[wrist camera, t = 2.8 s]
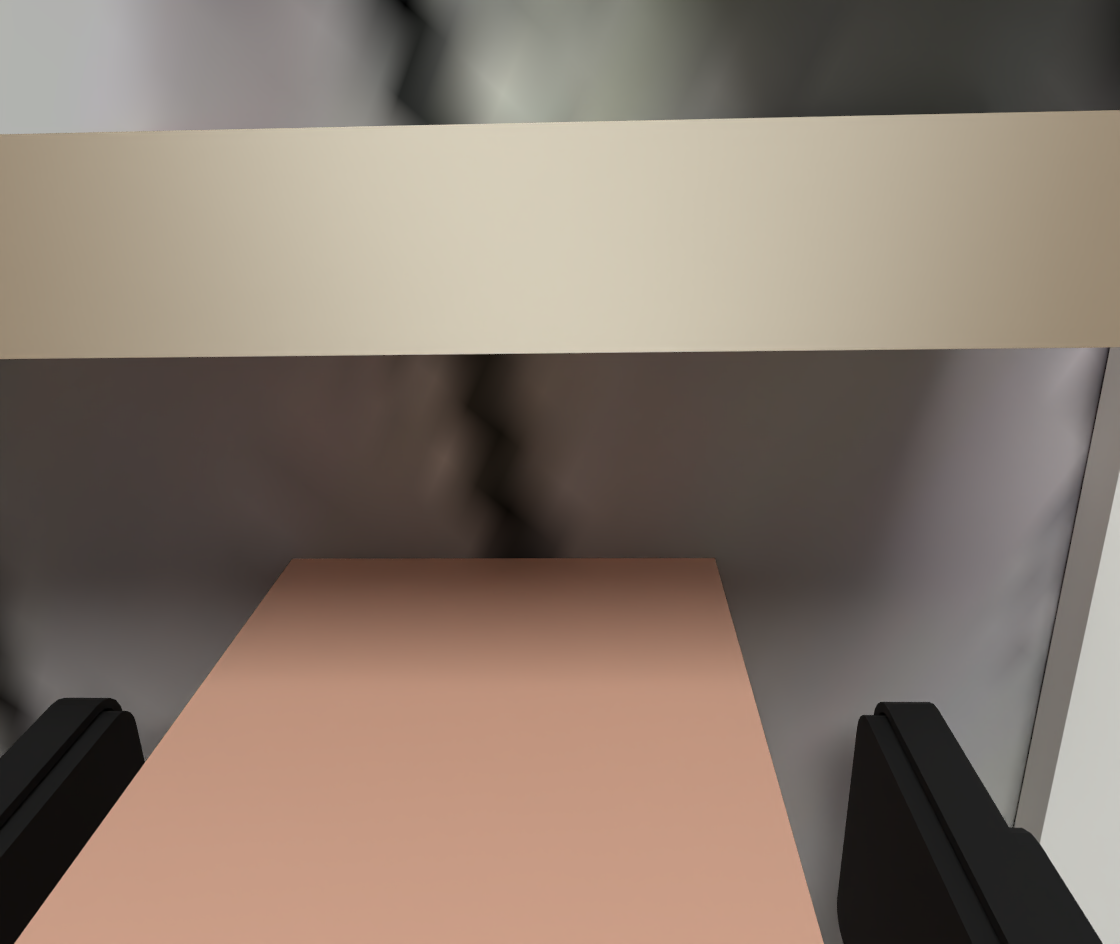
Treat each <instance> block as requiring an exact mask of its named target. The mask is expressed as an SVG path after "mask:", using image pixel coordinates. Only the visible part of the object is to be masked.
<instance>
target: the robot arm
mask: <svg viewBox="0 0 1120 944" xmlns="http://www.w3.org/2000/svg"><path fill="white" fill-rule="evenodd" d="M144 763H145V761H144V757H143V752H142V748H141V743H140V739H139V734H138V730H137V725H136V722H135V719H134V716H133V715H132V714H131V713H130V712H128V711H122V709H121V706H120V705H119V703H118V702H117V701H116V700H114V699H111V698H63V699H59V700H57V701H56V702H55V703H53V704H52V705H51V706H50V707H49V708H48V709H47V710H46V711H45V712H44V713H43V714H42V715H41V716H40V717H39V718H38V719H37V721H36V722H35V723H34V724H33V725H32V726H31V727H30V728H29V729H28V730H27V731H26V732H25V733H24V734H23V735H22V736H21V737H20V738H19V739H18V740H17V741H16V742H15V743H14V744H13V746H12V747H11V748H10V749H9V750H8V751H7V752H6V753H5V754H4V755H3V756H2V757H1V758H0V944H14V943H15V942H16V940H17V939H18V938H19V936H20V935H21V934H22V932H23V931H24V929H25V928H26V927H27V925H28V924H29V922H30V921H31V920H32V918H33V917H34V916H35V914H36V913H37V911H38V910H39V909H40V907H41V906H42V904H43V903H44V902H45V900H46V899H47V898H48V896H49V895H50V893H51V892H52V891H53V889H54V888H55V886H56V885H57V884H58V882H59V881H60V880H61V878H62V877H63V875H64V874H65V873H66V871H67V870H68V868H69V867H70V866H71V864H72V863H73V862H74V860H75V859H76V857H77V856H78V855H79V853H80V852H81V850H82V849H83V848H84V846H85V845H86V844H87V842H88V841H89V839H90V838H91V837H92V835H93V834H94V832H95V831H96V830H97V828H98V827H99V826H100V824H101V823H102V821H103V820H104V819H105V817H106V816H107V814H108V813H109V812H110V810H111V809H112V808H113V806H114V805H115V803H116V802H117V801H118V799H119V798H120V796H121V795H122V794H123V792H124V791H125V790H126V788H127V787H128V785H129V784H130V783H131V781H132V780H133V778H134V777H135V776H136V774H137V773H138V772H139V770H140V769H141V767H142V766H143V765H144ZM837 912H838V922H839V927H840V932H841V936H842V939H843V943H844V944H1103V943H1102V941H1101V940H1100V938H1099V936H1098V935H1097V933H1096V932H1095V930H1094V929H1093V927H1092V925H1091V924H1090V922H1089V921H1088V919H1087V917H1086V916H1085V914H1084V913H1083V911H1082V910H1081V908H1080V906H1079V905H1078V903H1077V902H1076V900H1075V898H1074V897H1073V895H1072V894H1071V892H1070V891H1069V889H1068V887H1067V886H1066V884H1065V883H1064V881H1063V879H1062V878H1061V876H1060V875H1059V873H1058V872H1057V870H1056V868H1055V867H1054V865H1053V864H1052V862H1051V860H1050V859H1049V857H1048V856H1047V854H1046V852H1045V851H1044V849H1043V848H1042V846H1041V845H1040V843H1039V842H1038V841H1037V840H1036V838H1035V837H1034V836H1033V835H1032V833H1030V832H1028V831H1027V830H1025V829H1023V828H1009V827H1008V825H1007V823H1006V822H1005V820H1004V818H1003V817H1002V815H1001V813H1000V812H999V810H998V808H997V807H996V805H995V803H994V802H993V800H992V798H991V797H990V795H989V793H988V792H987V790H986V788H985V787H984V785H983V783H982V782H981V780H980V778H979V777H978V775H977V773H976V772H975V770H974V768H973V767H972V765H971V763H970V762H969V760H968V758H967V757H966V755H965V753H964V752H963V750H962V748H961V747H960V745H959V743H958V742H957V740H956V738H955V737H954V735H953V733H952V732H951V730H950V728H949V727H948V725H947V723H946V722H945V720H944V719H943V717H942V715H941V714H940V712H939V710H938V709H937V708H936V706H935V705H934V704H932V703H930V702H880V703H878V704H877V706H876V708H875V711H874V715H862V716H861V717H860V719H859V721H858V726H857V734H856V742H855V751H854V759H853V768H852V777H851V785H850V794H849V802H848V811H847V819H846V828H845V837H844V845H843V854H842V862H841V871H840V880H839V888H838V897H837Z"/></svg>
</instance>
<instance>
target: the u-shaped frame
mask: <svg viewBox="0 0 1120 944" xmlns="http://www.w3.org/2000/svg"><path fill="white" fill-rule="evenodd" d="M1092 347H1120V110H1103V111H1057V112H1011V113H965V114H919V115H873V116H827V117H782V118H736V119H690V120H644V121H598V122H552V123H506V124H460V125H414V126H368V127H322V128H276V129H230V130H184V131H139V132H93V133H47V134H1V135H0V359H54V358H148V357H243V356H337V355H431V354H526V353H620V352H714V351H809V350H903V349H997V348H1092Z"/></svg>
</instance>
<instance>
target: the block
mask: <svg viewBox="0 0 1120 944" xmlns="http://www.w3.org/2000/svg"><path fill="white" fill-rule="evenodd" d="M14 944H824V943H823V939H822V936H821V932H820V929H819V925H818V922H817V918H816V914H815V911H814V907H813V904H812V900H811V897H810V893H809V890H808V886H807V883H806V879H805V876H804V872H803V869H802V865H801V861H800V858H799V854H798V851H797V847H796V844H795V840H794V837H793V833H792V830H791V826H790V823H789V819H788V815H787V812H786V808H785V805H784V801H783V798H782V794H781V791H780V787H779V784H778V780H777V777H776V773H775V770H774V766H773V762H772V759H771V755H770V752H769V748H768V745H767V741H766V738H765V734H764V731H763V727H762V724H761V720H760V717H759V713H758V709H757V706H756V702H755V699H754V695H753V692H752V688H751V685H750V681H749V678H748V674H747V671H746V667H745V663H744V660H743V656H742V653H741V649H740V646H739V642H738V639H737V635H736V632H735V628H734V625H733V621H732V618H731V614H730V610H729V607H728V603H727V600H726V596H725V593H724V589H723V586H722V582H721V579H720V575H719V572H718V568H717V564H716V561H715V558H403V559H292V560H291V561H290V562H289V564H288V565H287V567H286V568H285V569H284V571H283V572H282V574H281V575H280V576H279V578H278V579H277V580H276V582H275V583H274V585H273V586H272V587H271V589H270V590H269V592H268V593H267V594H266V596H265V597H264V598H263V600H262V601H261V603H260V604H259V605H258V607H257V608H256V610H255V611H254V612H253V614H252V615H251V616H250V618H249V619H248V621H247V622H246V623H245V625H244V626H243V628H242V629H241V630H240V632H239V633H238V634H237V636H236V637H235V639H234V640H233V641H232V643H231V644H230V646H229V647H228V648H227V650H226V651H225V652H224V654H223V655H222V657H221V658H220V659H219V661H218V662H217V664H216V665H215V666H214V668H213V669H212V670H211V672H210V673H209V675H208V676H207V677H206V679H205V680H204V682H203V683H202V684H201V686H200V687H199V688H198V690H197V691H196V693H195V694H194V695H193V697H192V698H191V700H190V701H189V702H188V704H187V705H186V706H185V708H184V709H183V711H182V712H181V713H180V715H179V716H178V718H177V719H176V720H175V722H174V723H173V724H172V726H171V727H170V729H169V730H168V731H167V733H166V734H165V736H164V737H163V738H162V740H161V741H160V742H159V744H158V745H157V747H156V748H155V749H154V751H153V752H152V754H151V755H150V756H149V758H148V759H147V760H146V762H145V763H144V765H143V766H142V767H141V769H140V770H139V772H138V773H137V774H136V776H135V777H134V778H133V780H132V781H131V783H130V784H129V785H128V787H127V788H126V790H125V791H124V792H123V794H122V795H121V796H120V798H119V799H118V801H117V802H116V803H115V805H114V806H113V808H112V809H111V810H110V812H109V813H108V814H107V816H106V817H105V819H104V820H103V821H102V823H101V824H100V826H99V827H98V828H97V830H96V831H95V832H94V834H93V835H92V837H91V838H90V839H89V841H88V842H87V844H86V845H85V846H84V848H83V849H82V850H81V852H80V853H79V855H78V856H77V857H76V859H75V860H74V862H73V863H72V864H71V866H70V867H69V868H68V870H67V871H66V873H65V874H64V875H63V877H62V878H61V880H60V881H59V882H58V884H57V885H56V886H55V888H54V889H53V891H52V892H51V893H50V895H49V896H48V898H47V899H46V900H45V902H44V903H43V904H42V906H41V907H40V909H39V910H38V911H37V913H36V914H35V916H34V917H33V918H32V920H31V921H30V922H29V924H28V925H27V927H26V928H25V929H24V931H23V932H22V934H21V935H20V936H19V938H18V939H17V940H16V942H15V943H14Z"/></svg>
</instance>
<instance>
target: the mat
mask: <svg viewBox="0 0 1120 944" xmlns="http://www.w3.org/2000/svg"><path fill="white" fill-rule="evenodd" d="M1014 828H1023V829H1025V830H1027V831H1028V832H1030V833H1032V835H1033V836H1034V837H1035V838H1036V840H1037V841H1038V842H1039V843H1040V845H1041V846H1042V848H1043V849H1044V851H1045V852H1046V854H1047V856H1048V857H1049V859H1050V860H1051V862H1052V864H1053V865H1054V867H1055V868H1056V870H1057V872H1058V873H1059V875H1060V876H1061V878H1062V879H1063V881H1064V883H1065V884H1066V886H1067V887H1068V889H1069V891H1070V892H1071V894H1072V895H1073V897H1074V898H1075V900H1076V902H1077V903H1078V905H1079V906H1080V908H1081V910H1082V911H1083V913H1084V914H1085V916H1086V917H1087V919H1088V921H1089V922H1090V924H1091V925H1092V927H1093V929H1094V930H1095V932H1096V933H1097V935H1098V936H1099V938H1100V940H1101V941H1102V943H1103V944H1120V347H1110V351H1109V356H1108V361H1107V366H1106V371H1105V376H1104V381H1103V386H1102V391H1101V396H1100V401H1099V406H1098V411H1097V416H1096V421H1095V426H1094V431H1093V436H1092V441H1091V446H1090V451H1089V456H1088V461H1087V466H1086V471H1085V476H1084V481H1083V486H1082V491H1081V496H1080V501H1079V506H1078V511H1077V516H1076V521H1075V526H1074V531H1073V536H1072V541H1071V546H1070V551H1069V556H1068V561H1067V566H1066V571H1065V576H1064V581H1063V586H1062V591H1061V596H1060V601H1059V606H1058V611H1057V616H1056V621H1055V626H1054V631H1053V636H1052V641H1051V646H1050V651H1049V656H1048V661H1047V666H1046V671H1045V676H1044V681H1043V686H1042V691H1041V696H1040V701H1039V706H1038V711H1037V716H1036V721H1035V726H1034V731H1033V736H1032V741H1031V746H1030V751H1029V756H1028V761H1027V766H1026V771H1025V776H1024V781H1023V786H1022V791H1021V796H1020V801H1019V806H1018V811H1017V816H1016V821H1015V826H1014Z"/></svg>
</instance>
